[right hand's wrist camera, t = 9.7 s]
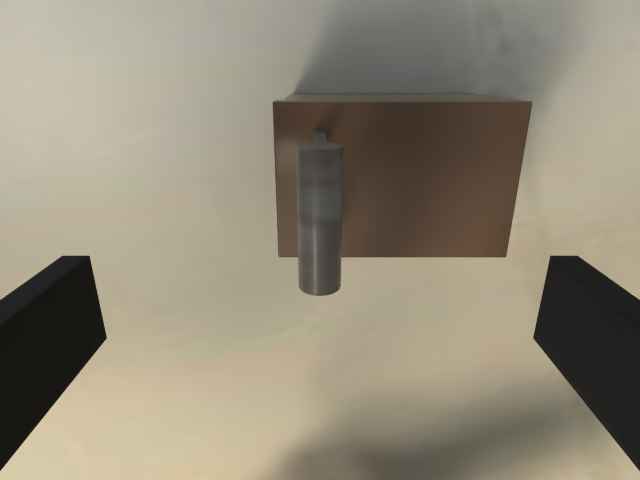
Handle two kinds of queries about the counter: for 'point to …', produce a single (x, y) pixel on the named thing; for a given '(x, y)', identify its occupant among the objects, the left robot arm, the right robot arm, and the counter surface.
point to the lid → (394, 180)
